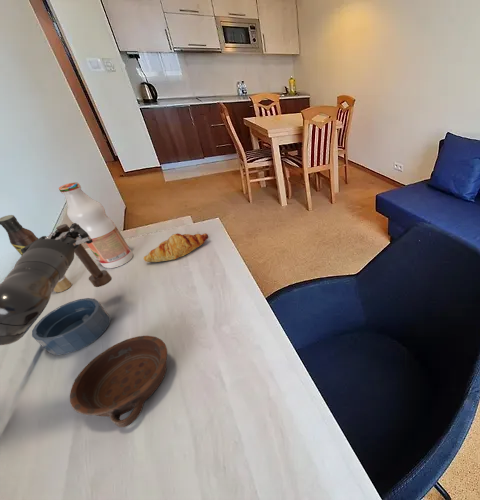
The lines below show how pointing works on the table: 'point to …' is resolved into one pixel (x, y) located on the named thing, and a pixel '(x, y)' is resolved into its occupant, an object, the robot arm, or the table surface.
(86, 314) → the bowl
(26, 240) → the sauce bottle
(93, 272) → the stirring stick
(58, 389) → the table surface
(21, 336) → the robot arm
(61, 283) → the sprinkles bottle
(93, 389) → the dish
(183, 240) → the croissant
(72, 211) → the fruit juice
